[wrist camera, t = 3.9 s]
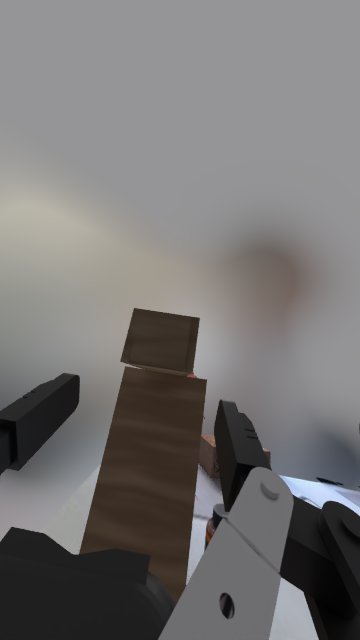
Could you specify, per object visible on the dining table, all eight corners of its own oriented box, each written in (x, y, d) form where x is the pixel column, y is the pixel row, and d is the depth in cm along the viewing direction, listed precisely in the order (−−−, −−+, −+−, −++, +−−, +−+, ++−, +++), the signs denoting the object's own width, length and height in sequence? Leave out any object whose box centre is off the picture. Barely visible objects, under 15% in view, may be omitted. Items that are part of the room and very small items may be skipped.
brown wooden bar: (192, 373, 12) (199, 317, 13) (120, 361, 12) (134, 308, 14) (182, 378, 37) (185, 358, 38) (158, 374, 37) (162, 354, 38)
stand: (159, 907, 11) (210, 380, 21) (3, 863, 12) (125, 366, 22) (169, 623, 25) (198, 380, 35) (95, 607, 25) (145, 371, 35)
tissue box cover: (210, 478, 66) (213, 446, 69) (196, 460, 79) (199, 434, 82) (270, 481, 71) (270, 451, 74) (248, 463, 85) (248, 439, 88)
